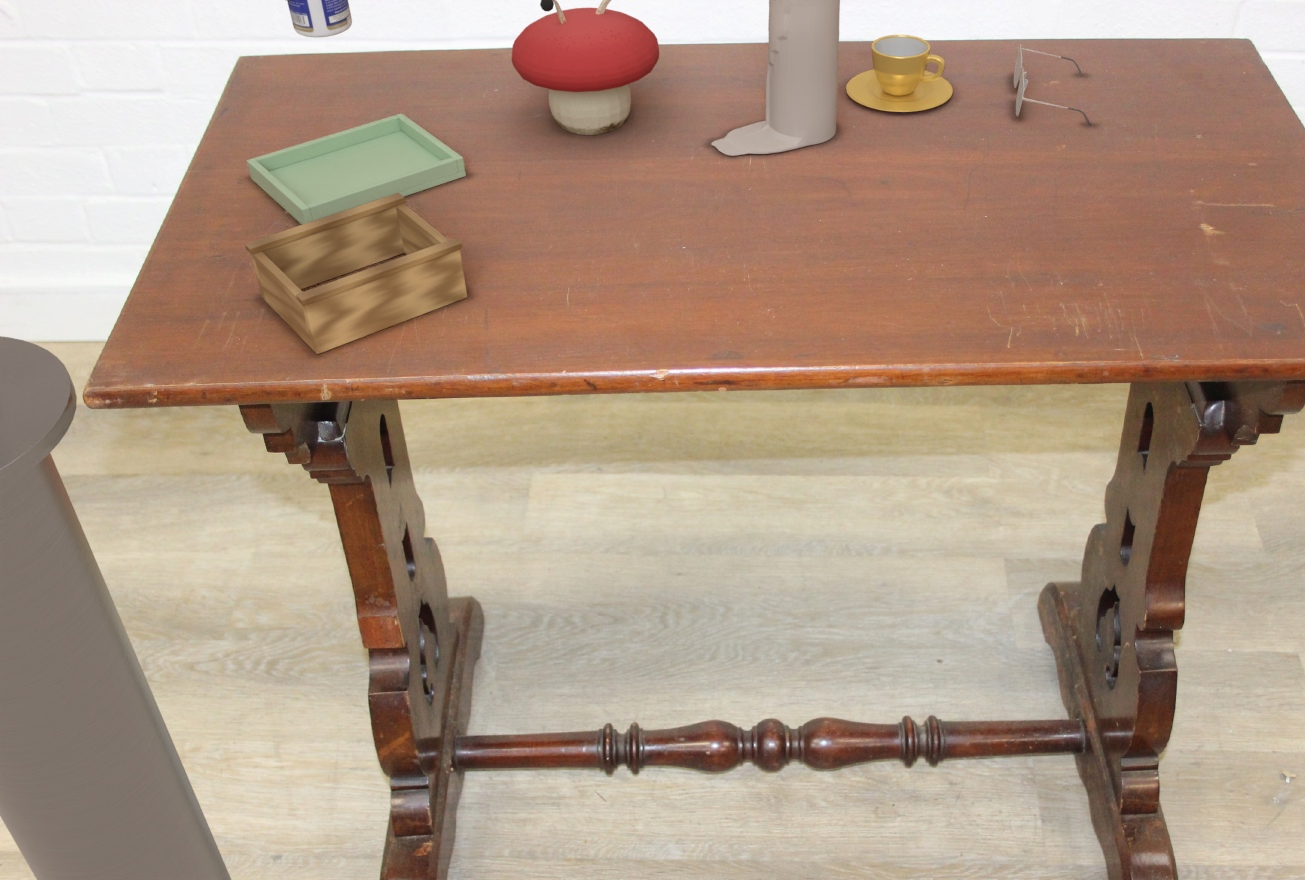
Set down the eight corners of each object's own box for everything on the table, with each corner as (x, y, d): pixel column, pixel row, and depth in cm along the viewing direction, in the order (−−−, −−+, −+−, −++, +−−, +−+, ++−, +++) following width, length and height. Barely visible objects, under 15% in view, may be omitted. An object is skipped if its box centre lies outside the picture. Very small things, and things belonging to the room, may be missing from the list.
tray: (306, 229, 136) (301, 209, 135) (251, 178, 144) (246, 159, 143) (466, 175, 144) (463, 157, 143) (405, 130, 152) (401, 112, 151)
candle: (702, 137, 150) (695, -53, 137) (816, 111, 155) (820, -75, 142) (731, 164, 145) (727, -31, 132) (847, 137, 150) (855, -54, 137)
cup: (833, 107, 155) (835, 60, 152) (861, 65, 164) (863, 20, 161) (939, 121, 153) (943, 73, 149) (962, 77, 161) (966, 31, 158)
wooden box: (315, 356, 119) (301, 300, 115) (259, 298, 126) (244, 243, 123) (471, 297, 126) (462, 242, 122) (409, 245, 133) (398, 192, 130)
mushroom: (560, 166, 145) (544, 24, 136) (495, 112, 156) (477, -24, 146) (690, 129, 152) (684, -10, 142) (620, 79, 162) (610, -53, 152)
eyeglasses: (1012, 71, 162) (1019, 38, 160) (1081, 79, 162) (1089, 46, 159) (1016, 124, 152) (1023, 89, 149) (1090, 132, 151) (1098, 97, 149)
